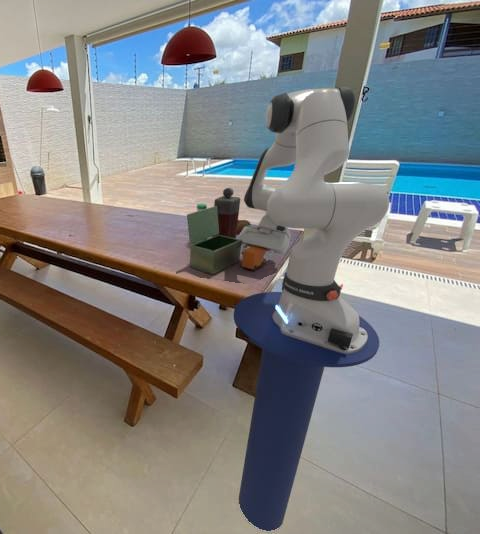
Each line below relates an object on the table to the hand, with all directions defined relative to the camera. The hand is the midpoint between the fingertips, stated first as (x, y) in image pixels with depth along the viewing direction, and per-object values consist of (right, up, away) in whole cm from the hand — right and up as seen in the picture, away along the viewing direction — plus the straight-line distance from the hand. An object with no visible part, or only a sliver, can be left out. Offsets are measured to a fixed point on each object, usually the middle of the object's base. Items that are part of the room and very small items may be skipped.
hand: (253, 257), depth 126 cm
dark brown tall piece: (-2, +8, +30) cm, 31 cm away
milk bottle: (-14, +8, +33) cm, 37 cm away
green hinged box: (-14, -3, +7) cm, 16 cm away
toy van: (+1, -4, +2) cm, 5 cm away
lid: (-19, +14, +5) cm, 24 cm away
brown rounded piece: (+9, +14, +42) cm, 45 cm away
